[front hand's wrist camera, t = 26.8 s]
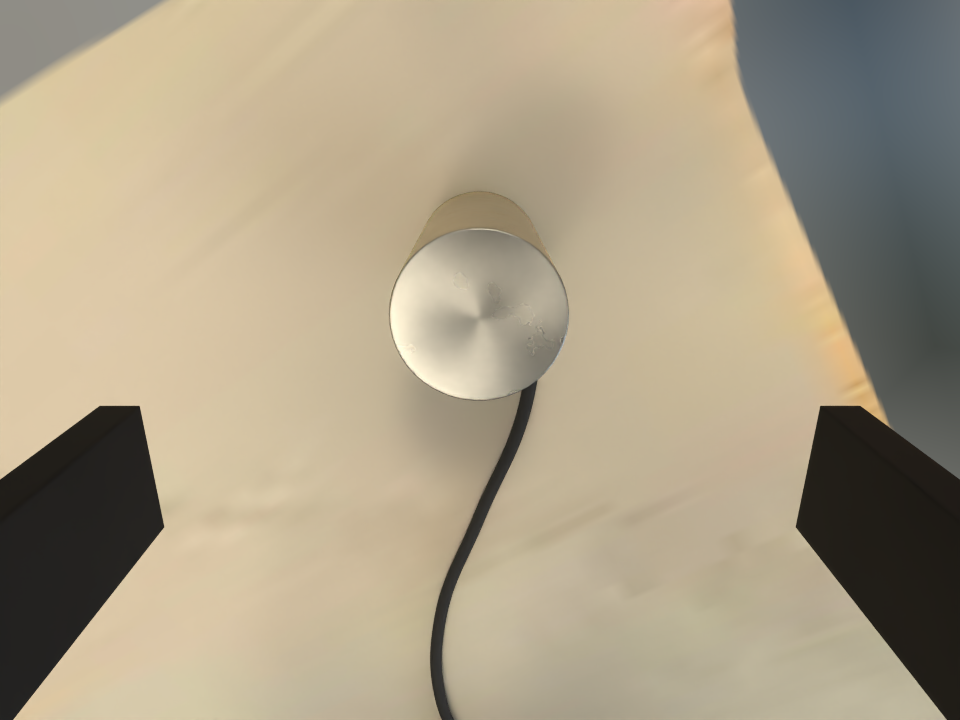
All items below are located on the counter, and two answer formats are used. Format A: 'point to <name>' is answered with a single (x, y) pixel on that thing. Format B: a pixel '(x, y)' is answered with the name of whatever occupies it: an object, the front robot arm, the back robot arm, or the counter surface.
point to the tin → (479, 301)
